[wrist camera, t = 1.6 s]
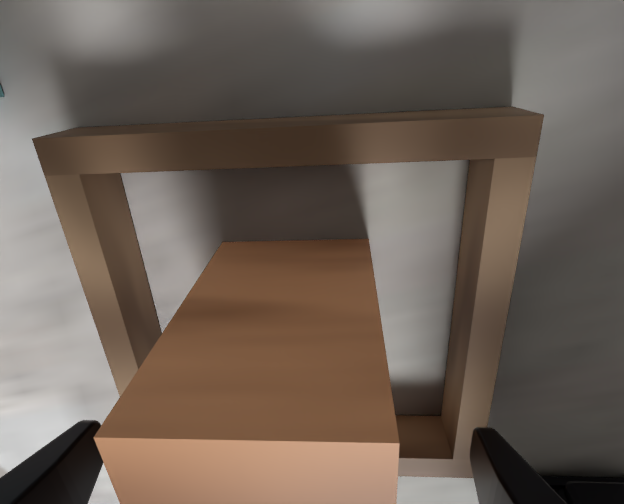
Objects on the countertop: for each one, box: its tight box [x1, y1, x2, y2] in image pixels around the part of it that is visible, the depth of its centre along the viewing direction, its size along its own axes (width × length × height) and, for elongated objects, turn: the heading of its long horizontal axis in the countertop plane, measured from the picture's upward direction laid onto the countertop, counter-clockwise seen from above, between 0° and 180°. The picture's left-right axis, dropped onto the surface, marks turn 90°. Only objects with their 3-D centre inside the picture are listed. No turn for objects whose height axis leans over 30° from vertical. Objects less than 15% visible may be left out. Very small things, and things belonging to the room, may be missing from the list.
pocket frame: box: [32, 107, 544, 478], centre depth 14 cm, size 13×13×2 cm
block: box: [94, 239, 400, 504], centre depth 11 cm, size 5×5×8 cm
